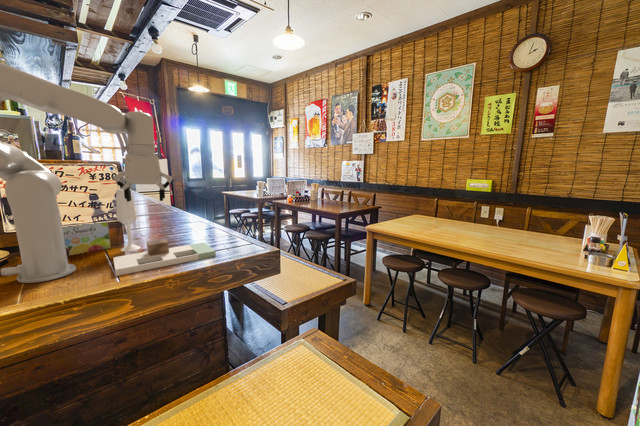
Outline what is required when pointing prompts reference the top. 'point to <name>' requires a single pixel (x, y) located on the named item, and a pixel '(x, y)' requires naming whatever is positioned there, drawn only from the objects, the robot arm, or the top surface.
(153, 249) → the walnut block
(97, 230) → the snack box
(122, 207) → the champagne flute
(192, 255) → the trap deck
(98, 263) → the top surface
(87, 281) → the top surface
